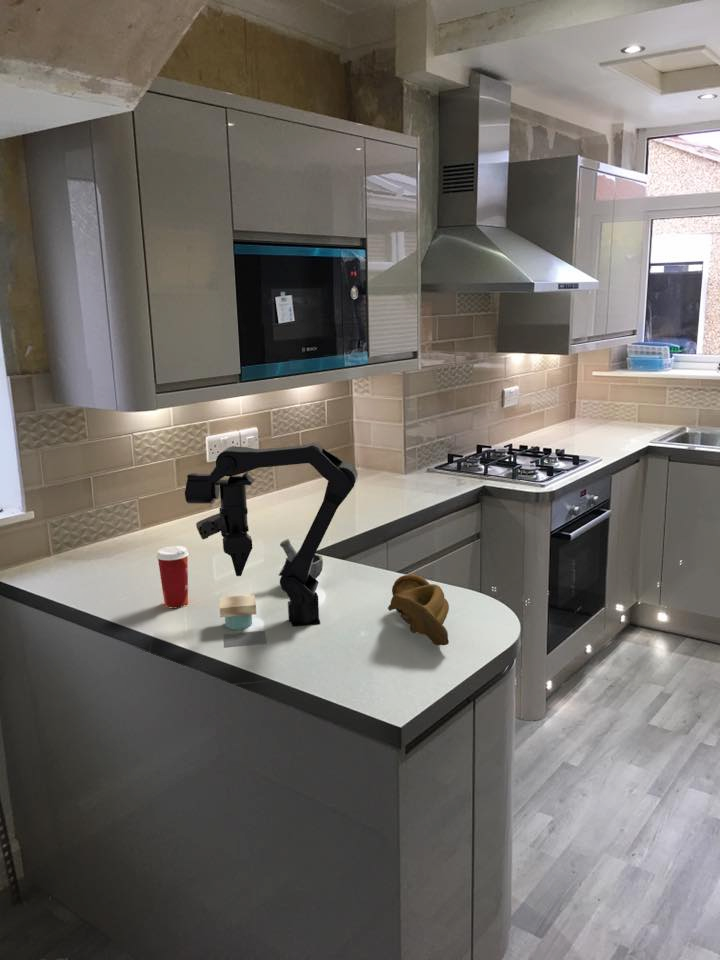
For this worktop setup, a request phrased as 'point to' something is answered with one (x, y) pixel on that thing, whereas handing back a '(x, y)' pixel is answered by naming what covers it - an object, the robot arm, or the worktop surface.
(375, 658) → the worktop surface
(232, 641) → the mat
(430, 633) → the brown looped sculpture
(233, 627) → the ramekin
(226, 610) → the board
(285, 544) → the mortar and pestle
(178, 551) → the paper cup
